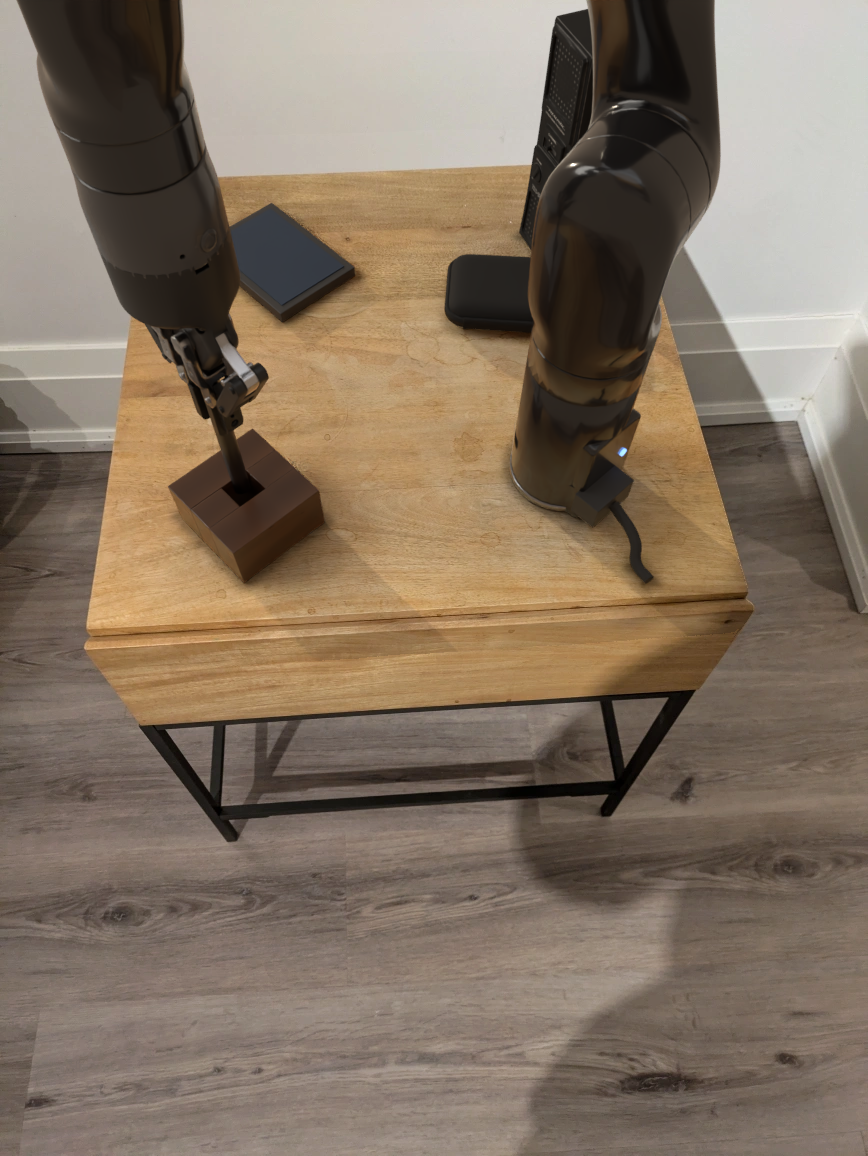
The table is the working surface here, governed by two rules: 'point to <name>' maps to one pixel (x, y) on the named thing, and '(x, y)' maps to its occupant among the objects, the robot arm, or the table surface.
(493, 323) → the carrying case
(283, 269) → the tablet
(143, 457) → the table surface
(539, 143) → the portable radio
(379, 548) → the table surface
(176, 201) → the robot arm
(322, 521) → the pen stand
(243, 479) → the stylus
